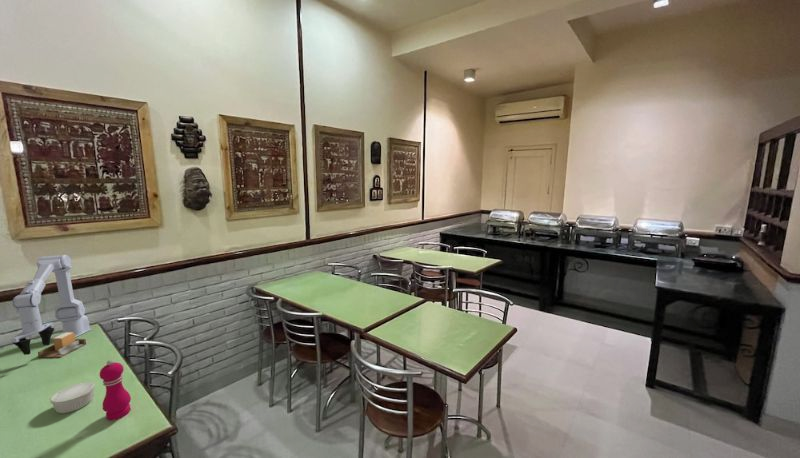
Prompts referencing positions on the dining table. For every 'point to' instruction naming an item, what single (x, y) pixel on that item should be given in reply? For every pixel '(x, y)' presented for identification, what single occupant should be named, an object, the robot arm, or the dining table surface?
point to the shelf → (63, 351)
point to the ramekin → (73, 397)
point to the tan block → (64, 340)
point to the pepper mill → (114, 391)
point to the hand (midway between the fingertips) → (37, 349)
